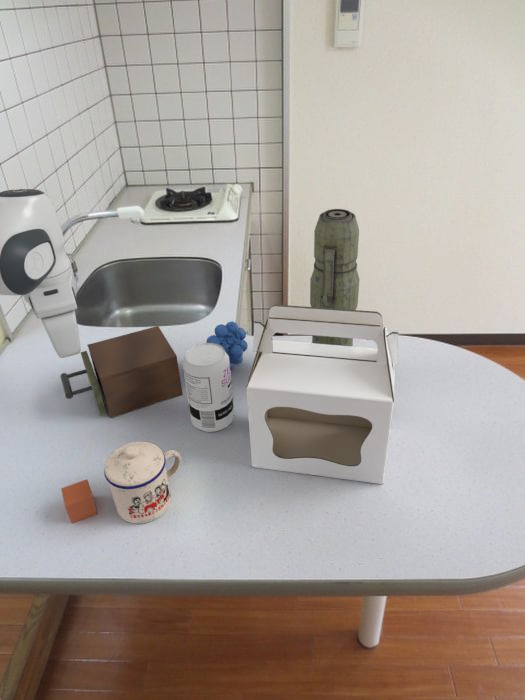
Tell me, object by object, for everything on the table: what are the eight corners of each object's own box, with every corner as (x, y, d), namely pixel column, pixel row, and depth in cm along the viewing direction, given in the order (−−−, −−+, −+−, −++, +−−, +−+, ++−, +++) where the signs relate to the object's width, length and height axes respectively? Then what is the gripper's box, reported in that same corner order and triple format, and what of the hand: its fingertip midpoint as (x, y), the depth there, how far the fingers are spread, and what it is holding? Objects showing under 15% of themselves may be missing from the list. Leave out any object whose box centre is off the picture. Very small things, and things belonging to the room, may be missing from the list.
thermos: (355, 364, 112) (366, 202, 92) (349, 399, 102) (361, 227, 83) (313, 360, 114) (316, 200, 94) (304, 394, 104) (305, 225, 84)
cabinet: (110, 418, 101) (100, 378, 95) (97, 382, 110) (87, 344, 105) (183, 394, 106) (176, 355, 100) (164, 362, 115) (158, 325, 110)
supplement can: (187, 410, 101) (177, 346, 93) (228, 401, 103) (222, 337, 95) (195, 438, 95) (185, 372, 86) (239, 428, 97) (234, 361, 88)
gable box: (250, 467, 89) (239, 326, 73) (266, 416, 99) (259, 283, 83) (384, 485, 84) (404, 339, 68) (386, 429, 95) (403, 292, 79)
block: (71, 523, 81) (65, 506, 78) (67, 505, 84) (61, 488, 81) (97, 513, 82) (92, 496, 80) (93, 495, 85) (87, 478, 83)
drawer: (73, 423, 98) (63, 391, 94) (64, 390, 107) (54, 359, 102) (168, 394, 104) (162, 362, 100) (152, 364, 113) (146, 334, 109)
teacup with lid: (132, 536, 78) (116, 483, 72) (105, 500, 84) (89, 447, 78) (199, 494, 84) (190, 442, 78) (170, 463, 90) (159, 411, 84)
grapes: (224, 392, 106) (219, 342, 99) (201, 379, 109) (194, 331, 103) (262, 364, 113) (259, 316, 106) (238, 354, 117) (235, 307, 110)
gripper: (23, 265, 96) (44, 329, 103) (35, 315, 80) (59, 386, 88) (59, 257, 98) (77, 321, 106) (77, 305, 82) (96, 375, 90)
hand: (69, 351), depth 97 cm, fingers closed
